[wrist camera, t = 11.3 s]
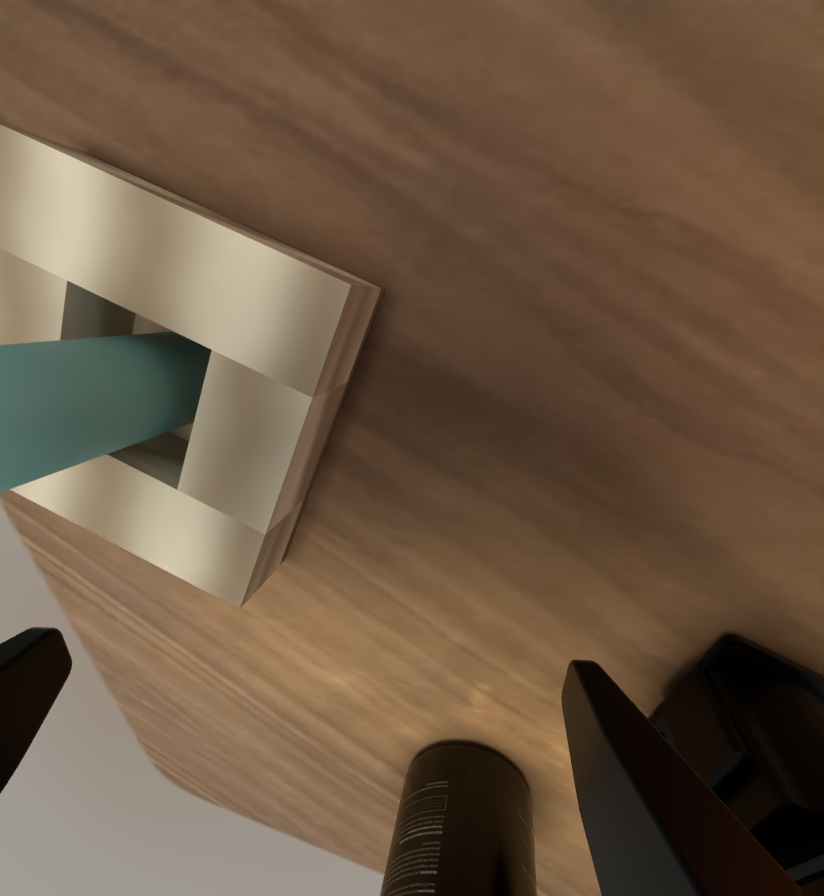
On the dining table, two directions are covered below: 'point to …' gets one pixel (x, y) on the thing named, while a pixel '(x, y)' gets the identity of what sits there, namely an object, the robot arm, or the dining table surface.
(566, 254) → the dining table surface
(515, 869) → the supplement bottle
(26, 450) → the teal cylinder
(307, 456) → the cream square wooden frame
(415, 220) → the dining table surface
